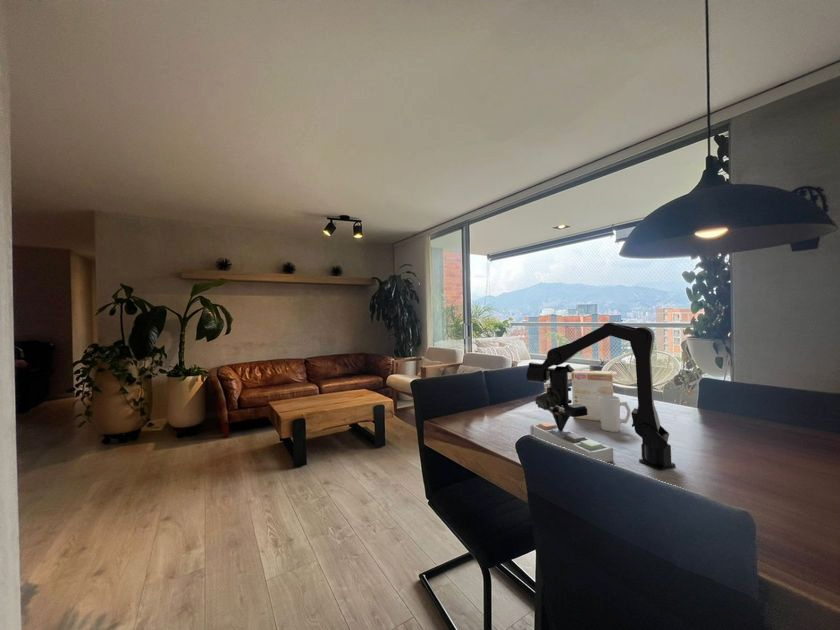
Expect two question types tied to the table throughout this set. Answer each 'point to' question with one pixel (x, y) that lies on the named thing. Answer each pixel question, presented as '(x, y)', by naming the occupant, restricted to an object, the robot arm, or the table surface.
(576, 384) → the coffeecake box
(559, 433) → the key blue
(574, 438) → the key charcoal
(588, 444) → the key sage
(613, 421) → the mug
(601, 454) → the keypad
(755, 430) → the table surface
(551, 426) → the key terracotta
